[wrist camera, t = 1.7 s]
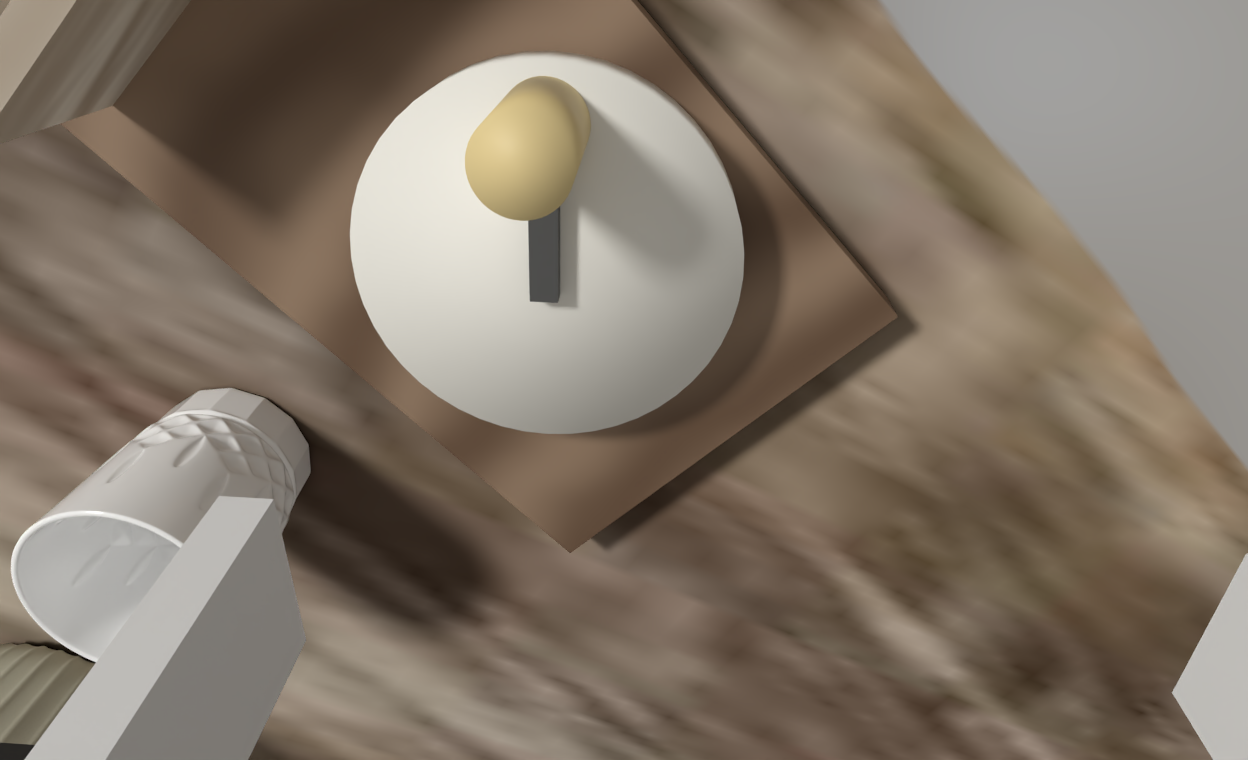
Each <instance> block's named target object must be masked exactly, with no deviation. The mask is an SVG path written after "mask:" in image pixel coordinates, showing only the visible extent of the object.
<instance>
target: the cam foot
mask: <svg viewBox="0 0 1248 760" xmlns="http://www.w3.org/2000/svg"><path fill="white" fill-rule="evenodd" d="M350 246H351V260H352V265H353V270H354V275H355V280H356V284H357V287H358V290H359V293H360V296H361V299H362V302H363V305H364V307H365V309H366V311H367V313H368V315H369V317H370V319H371V322H372V324H373V326H374V328H375V329H376V331H377V332H378V334H379V335H380V337H381V338H382V340H383V342H384V343H385V345H386V346H387V348H388V349H389V350H390V351H391V353H392V354H393V355H394V356H395V357H396V359H397V360H398V361H399V362H400V364H401V365H402V366H403V367H404V368H405V369H406V370H407V371H408V372H409V373H410V374H411V375H412V376H414V377H415V378H416V379H417V380H418V381H419V382H420V383H421V384H422V385H424V386H425V387H426V388H428V389H429V390H430V391H431V392H433V393H434V394H435V395H437V396H438V397H440V398H441V399H443V400H445V401H446V402H448V403H449V404H451V405H453V406H454V407H456V408H458V409H460V410H462V411H464V412H466V413H468V414H470V415H473V416H475V417H477V418H479V419H482V420H485V421H488V422H490V423H493V424H496V425H499V426H502V427H507V428H511V429H516V430H520V431H525V432H535V433H544V434H574V433H583V432H592V431H597V430H601V429H605V428H610V427H614V426H617V425H620V424H623V423H626V422H628V421H631V420H634V419H637V418H639V417H641V416H643V415H645V414H647V413H649V412H651V411H653V410H655V409H657V408H658V407H660V406H661V405H663V404H664V403H666V402H667V401H669V400H670V399H672V398H673V397H675V396H676V395H677V394H679V393H680V392H681V391H682V390H683V389H684V388H685V387H687V386H688V385H689V384H690V383H691V382H692V381H693V380H694V379H695V378H696V377H697V376H698V375H699V374H700V373H701V371H702V370H703V369H704V368H705V367H706V366H707V365H708V363H709V362H710V360H711V359H712V357H713V356H714V355H715V353H716V352H717V350H718V349H719V347H720V346H721V344H722V342H723V340H724V338H725V336H726V334H727V332H728V330H729V328H730V326H731V324H732V321H733V318H734V315H735V312H736V309H737V305H738V302H739V298H740V293H741V287H742V282H743V272H744V245H743V234H742V226H741V222H740V218H739V214H738V210H737V206H736V202H735V197H734V193H733V189H732V186H731V183H730V181H729V178H728V176H727V173H726V170H725V168H724V165H723V163H722V161H721V159H720V157H719V156H718V154H717V152H716V150H715V149H714V147H713V145H712V143H711V141H710V140H709V138H708V137H707V136H706V135H705V133H704V132H703V131H702V129H701V128H700V127H699V125H698V124H697V123H696V121H695V120H694V119H693V118H692V117H691V116H690V115H689V114H688V113H687V112H686V111H685V110H684V109H683V108H682V107H681V106H680V105H679V104H678V103H677V102H676V101H675V100H674V99H673V98H671V97H670V96H669V95H668V94H666V93H665V92H664V91H662V90H661V89H660V88H658V87H657V86H656V85H655V84H653V83H651V82H649V81H648V80H646V79H644V78H642V77H641V76H639V75H637V74H636V73H634V72H632V71H630V70H628V69H625V68H623V67H620V66H618V65H615V64H613V63H611V62H608V61H606V60H602V59H598V58H594V57H590V56H586V55H582V54H578V53H569V52H560V51H524V52H518V53H512V54H506V55H500V56H496V57H493V58H490V59H487V60H484V61H481V62H477V63H474V64H472V65H470V66H468V67H466V68H464V69H462V70H460V71H458V72H456V73H454V74H452V75H450V76H448V77H447V78H446V79H444V80H443V81H441V82H440V83H438V84H437V85H435V86H434V87H432V88H431V89H430V90H428V91H427V92H425V93H424V94H423V95H421V96H420V97H419V98H417V99H416V100H414V101H413V102H412V103H411V104H410V105H409V106H408V107H407V108H406V109H405V110H404V111H403V112H402V113H401V114H399V115H398V116H397V117H396V118H395V119H394V121H393V122H392V123H391V124H390V126H389V127H388V128H387V130H386V131H385V132H384V133H383V135H382V136H381V137H380V138H379V140H378V142H377V143H376V145H375V147H374V149H373V150H372V152H371V154H370V156H369V157H368V159H367V161H366V164H365V166H364V169H363V171H362V174H361V176H360V179H359V182H358V184H357V188H356V193H355V197H354V201H353V206H352V212H351V225H350Z"/></svg>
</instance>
